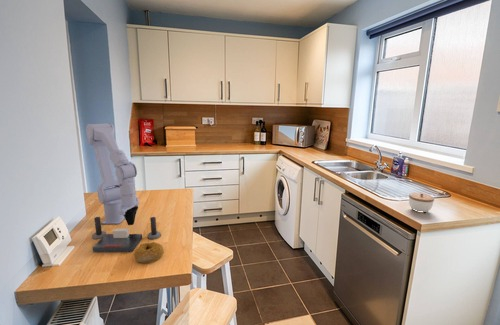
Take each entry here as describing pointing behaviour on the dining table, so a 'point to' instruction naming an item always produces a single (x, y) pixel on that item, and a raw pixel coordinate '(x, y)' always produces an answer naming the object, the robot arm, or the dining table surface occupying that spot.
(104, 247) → the breaker block
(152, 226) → the cable post
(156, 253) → the bagel
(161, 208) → the dining table surface
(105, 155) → the robot arm
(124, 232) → the breaker paddle
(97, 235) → the cable post
